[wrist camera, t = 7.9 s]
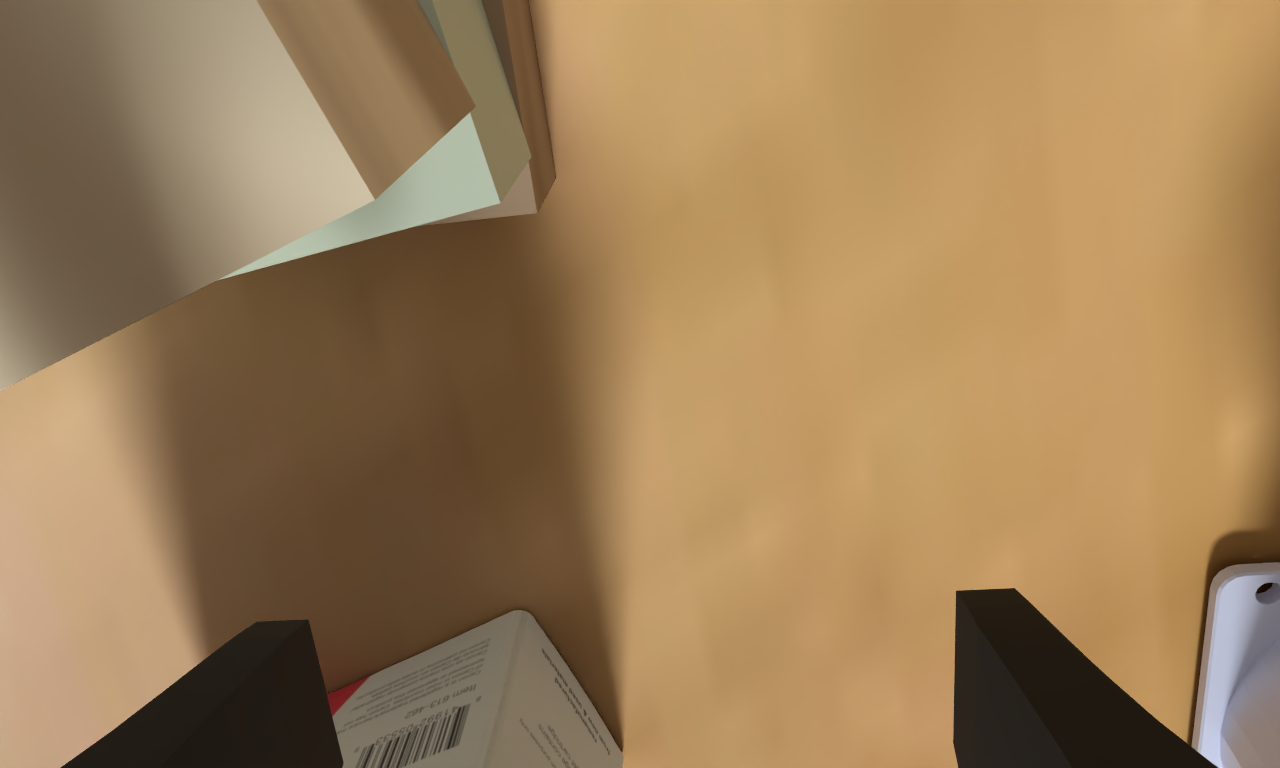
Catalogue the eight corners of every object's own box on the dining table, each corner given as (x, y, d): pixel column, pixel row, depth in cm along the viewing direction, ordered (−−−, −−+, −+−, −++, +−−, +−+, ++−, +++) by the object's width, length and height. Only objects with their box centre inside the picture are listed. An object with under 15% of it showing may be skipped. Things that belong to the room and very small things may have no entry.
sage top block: (400, -254, 16) (335, -286, 13) (531, 156, 18) (500, 202, 15) (27, -125, 17) (-106, -130, 14) (195, 250, 19) (109, 309, 16)
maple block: (287, -241, 13) (69, -313, 9) (475, 106, 15) (373, 200, 10) (-5, -59, 14) (-339, -39, 10) (200, 250, 16) (-5, 394, 11)
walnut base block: (494, -249, 18) (457, -275, 16) (559, 172, 21) (537, 213, 18) (92, -187, 19) (-12, -203, 16) (204, 212, 22) (132, 257, 19)
